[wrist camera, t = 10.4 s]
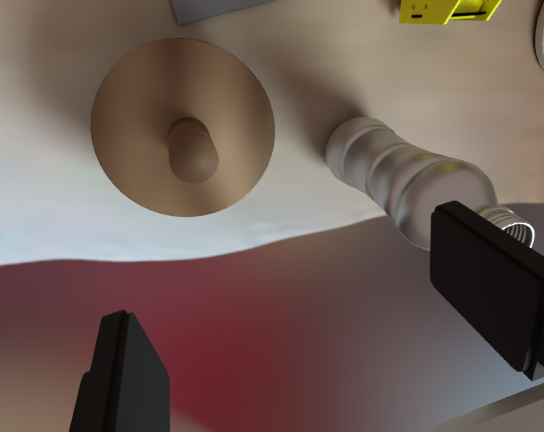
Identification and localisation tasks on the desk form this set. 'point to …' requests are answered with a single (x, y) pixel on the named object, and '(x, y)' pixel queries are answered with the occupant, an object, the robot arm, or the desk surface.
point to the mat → (208, 8)
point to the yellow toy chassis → (445, 10)
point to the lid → (182, 127)
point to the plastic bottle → (413, 180)
